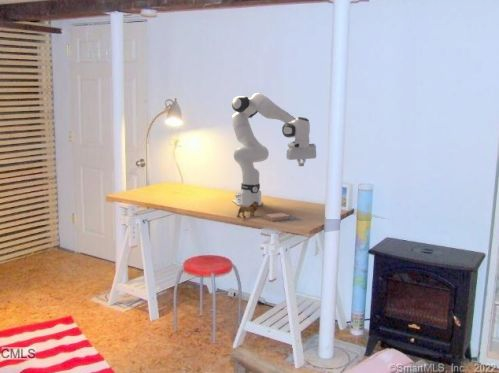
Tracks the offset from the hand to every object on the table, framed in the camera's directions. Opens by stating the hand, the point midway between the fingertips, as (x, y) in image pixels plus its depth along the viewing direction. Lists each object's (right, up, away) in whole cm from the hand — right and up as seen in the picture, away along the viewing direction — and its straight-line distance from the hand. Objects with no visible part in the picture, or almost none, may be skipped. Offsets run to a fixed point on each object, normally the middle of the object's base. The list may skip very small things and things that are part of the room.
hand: (301, 166), depth 339 cm
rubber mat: (-12, -32, -13) cm, 36 cm away
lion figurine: (-33, -31, -8) cm, 46 cm away
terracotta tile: (-10, -30, -13) cm, 34 cm away
